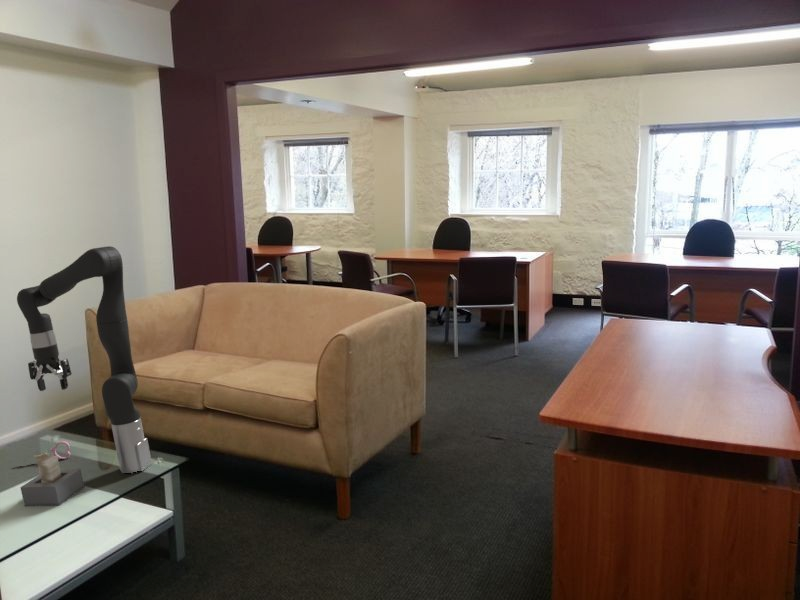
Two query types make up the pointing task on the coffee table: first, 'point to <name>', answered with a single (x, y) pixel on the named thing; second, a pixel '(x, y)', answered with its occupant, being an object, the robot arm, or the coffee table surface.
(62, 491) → the well block
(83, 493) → the coffee table surface
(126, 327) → the robot arm
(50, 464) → the wooden peg
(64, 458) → the decorative key
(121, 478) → the coffee table surface
